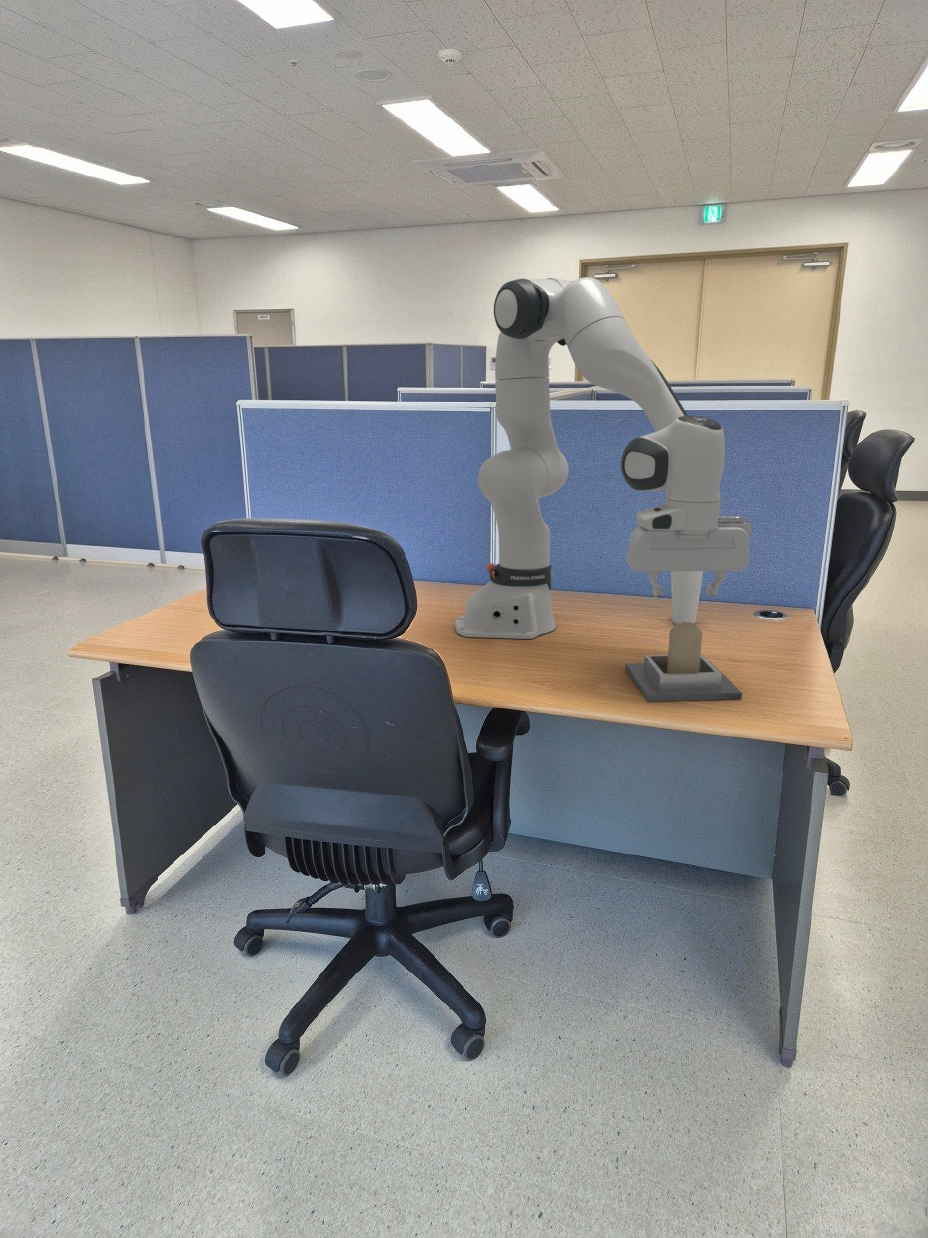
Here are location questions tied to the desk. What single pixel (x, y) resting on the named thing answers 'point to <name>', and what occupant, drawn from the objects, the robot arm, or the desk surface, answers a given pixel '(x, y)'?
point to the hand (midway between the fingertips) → (684, 595)
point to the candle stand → (680, 681)
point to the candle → (684, 648)
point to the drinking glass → (685, 595)
